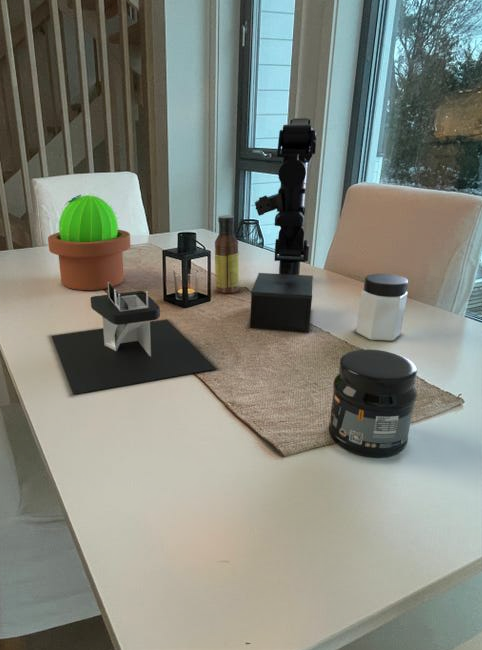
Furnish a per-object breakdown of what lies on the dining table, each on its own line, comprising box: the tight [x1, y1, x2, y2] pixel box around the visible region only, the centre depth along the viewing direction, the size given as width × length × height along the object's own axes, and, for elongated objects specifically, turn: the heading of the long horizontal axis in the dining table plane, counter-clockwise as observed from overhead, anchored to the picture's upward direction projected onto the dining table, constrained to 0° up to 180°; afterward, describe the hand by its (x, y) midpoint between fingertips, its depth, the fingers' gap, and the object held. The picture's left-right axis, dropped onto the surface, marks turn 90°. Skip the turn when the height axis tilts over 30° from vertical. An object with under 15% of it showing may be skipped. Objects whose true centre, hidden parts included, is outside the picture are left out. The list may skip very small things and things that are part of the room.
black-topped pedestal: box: [51, 282, 217, 395], centre depth 99 cm, size 28×26×13 cm
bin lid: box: [250, 272, 314, 300], centre depth 114 cm, size 15×13×1 cm
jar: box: [355, 273, 409, 342], centre depth 106 cm, size 9×8×12 cm
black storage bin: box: [249, 294, 313, 334], centre depth 116 cm, size 15×13×8 cm
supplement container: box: [328, 348, 418, 459], centre depth 70 cm, size 10×10×12 cm
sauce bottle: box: [214, 214, 240, 294], centre depth 134 cm, size 6×6×20 cm
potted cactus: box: [47, 193, 131, 291], centre depth 143 cm, size 22×22×25 cm
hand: (288, 250), depth 124 cm, fingers closed
